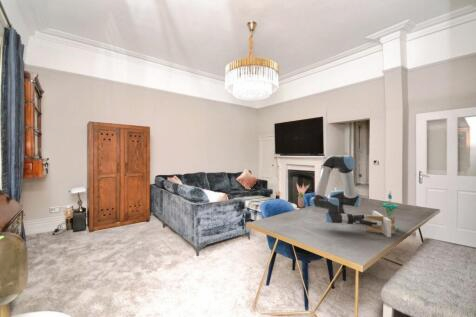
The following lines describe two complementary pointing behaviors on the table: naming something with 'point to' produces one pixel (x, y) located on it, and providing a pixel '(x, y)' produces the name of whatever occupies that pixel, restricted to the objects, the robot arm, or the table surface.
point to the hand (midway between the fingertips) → (377, 220)
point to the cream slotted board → (384, 224)
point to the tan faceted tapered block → (376, 227)
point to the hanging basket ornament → (390, 208)
